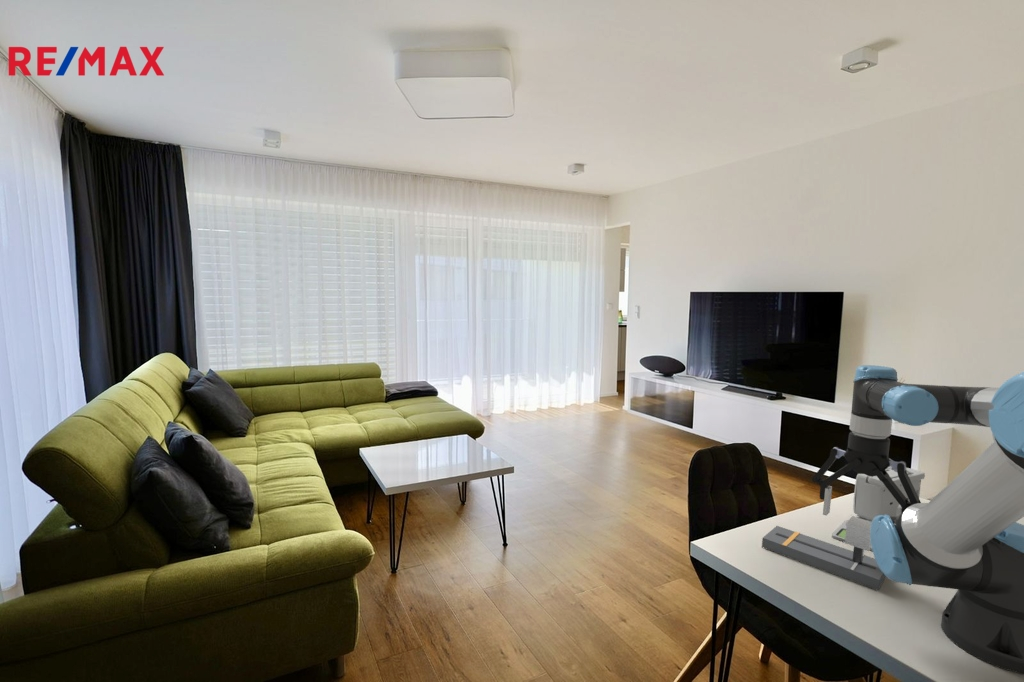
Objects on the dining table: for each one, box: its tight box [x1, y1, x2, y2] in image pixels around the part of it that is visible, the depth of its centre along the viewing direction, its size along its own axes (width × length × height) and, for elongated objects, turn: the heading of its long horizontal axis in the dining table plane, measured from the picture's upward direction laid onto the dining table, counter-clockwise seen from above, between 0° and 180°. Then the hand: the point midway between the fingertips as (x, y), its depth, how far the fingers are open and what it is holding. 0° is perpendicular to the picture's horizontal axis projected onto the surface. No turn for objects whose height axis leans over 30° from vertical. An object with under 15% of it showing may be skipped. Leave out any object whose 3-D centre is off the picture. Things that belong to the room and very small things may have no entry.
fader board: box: [761, 525, 887, 591], centre depth 118 cm, size 24×10×3 cm, turn 43°
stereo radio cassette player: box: [852, 457, 926, 522], centre depth 143 cm, size 21×8×20 cm, turn 115°
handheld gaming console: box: [831, 519, 873, 553], centre depth 131 cm, size 10×2×15 cm
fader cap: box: [844, 515, 872, 563], centre depth 112 cm, size 4×5×9 cm
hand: (860, 524), depth 112 cm, fingers open, 13 cm apart
